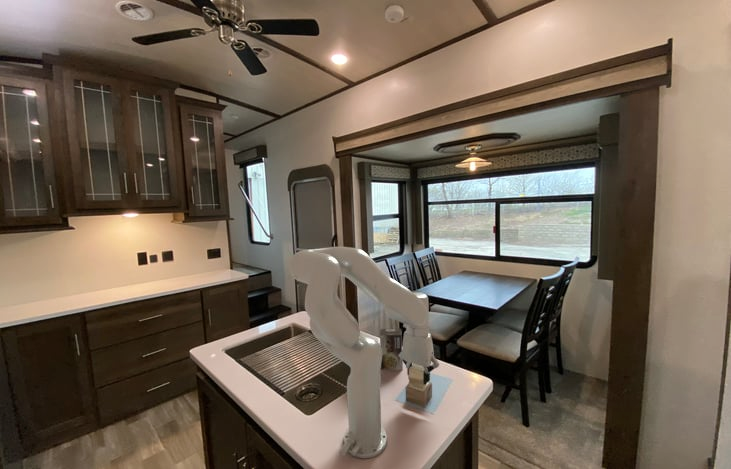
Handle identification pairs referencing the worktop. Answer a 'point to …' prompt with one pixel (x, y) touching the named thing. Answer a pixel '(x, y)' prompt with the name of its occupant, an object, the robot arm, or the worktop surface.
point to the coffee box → (391, 349)
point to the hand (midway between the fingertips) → (418, 379)
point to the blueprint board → (436, 393)
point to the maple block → (416, 375)
